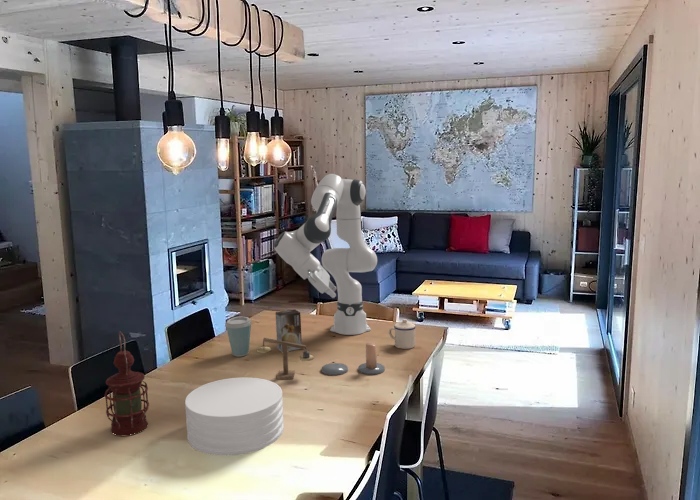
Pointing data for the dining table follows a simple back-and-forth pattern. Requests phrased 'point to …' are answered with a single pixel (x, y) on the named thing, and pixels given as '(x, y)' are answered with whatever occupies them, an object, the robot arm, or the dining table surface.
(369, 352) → the peach shift knob
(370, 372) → the dish
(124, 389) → the lantern
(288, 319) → the coffee box
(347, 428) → the dining table surface
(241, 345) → the disposable coffee cup
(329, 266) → the robot arm
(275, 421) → the plate stack
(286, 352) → the balance
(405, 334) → the teacup with lid
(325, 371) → the dish
